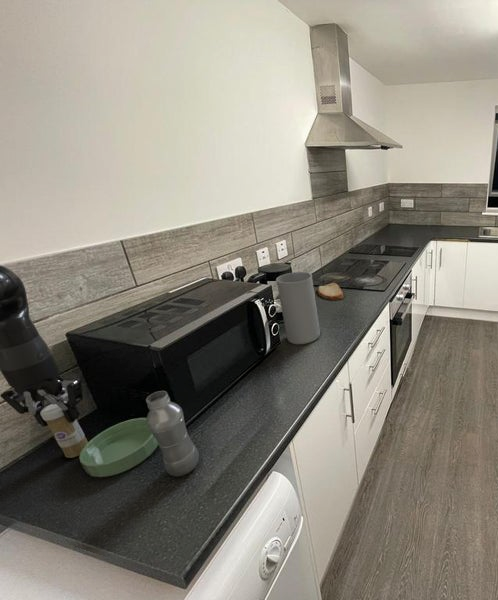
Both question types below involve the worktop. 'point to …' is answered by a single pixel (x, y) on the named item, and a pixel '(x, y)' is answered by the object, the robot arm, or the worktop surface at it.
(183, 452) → the plastic bottle
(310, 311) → the cylinder vase
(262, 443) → the worktop surface
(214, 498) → the worktop surface
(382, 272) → the worktop surface
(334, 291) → the slice of bread
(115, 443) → the bowl
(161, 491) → the worktop surface
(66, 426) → the sprinkles bottle
